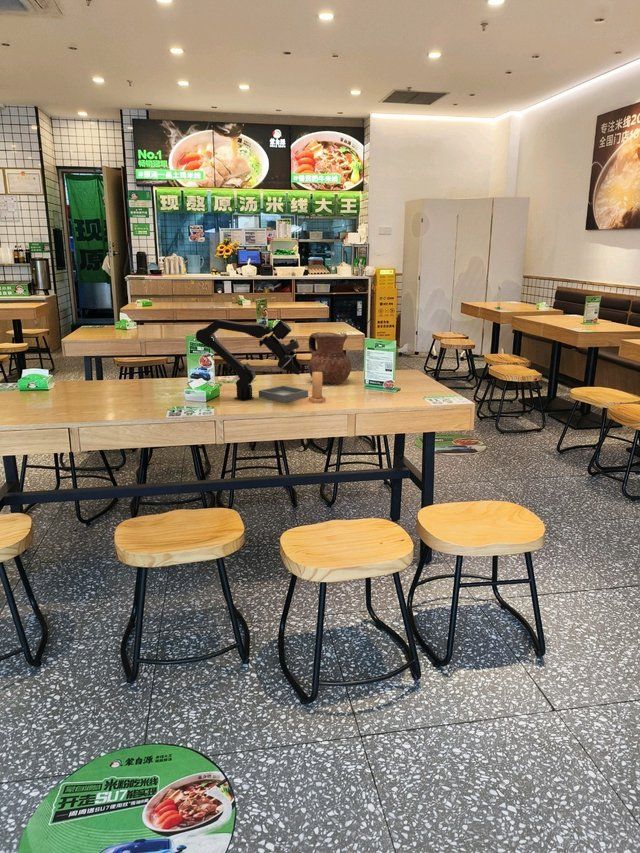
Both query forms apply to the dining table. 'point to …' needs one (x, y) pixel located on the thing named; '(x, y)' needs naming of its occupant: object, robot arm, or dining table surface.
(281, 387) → the grey square tray
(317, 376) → the peach joystick knob
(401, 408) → the dining table surface
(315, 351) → the jug
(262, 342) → the robot arm
